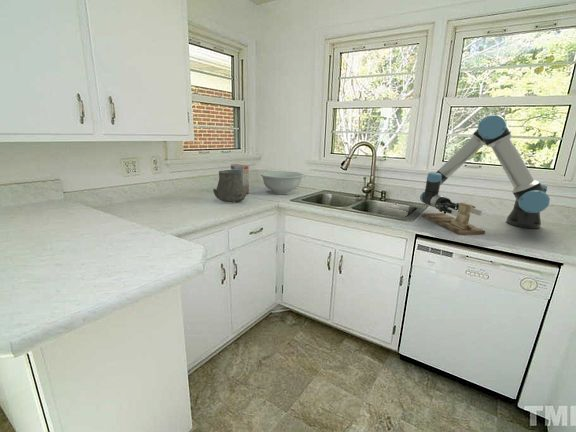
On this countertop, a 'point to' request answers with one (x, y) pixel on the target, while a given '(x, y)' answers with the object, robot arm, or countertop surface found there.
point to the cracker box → (243, 175)
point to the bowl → (281, 181)
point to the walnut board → (446, 222)
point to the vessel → (230, 186)
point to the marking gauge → (463, 216)
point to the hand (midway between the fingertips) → (469, 213)
